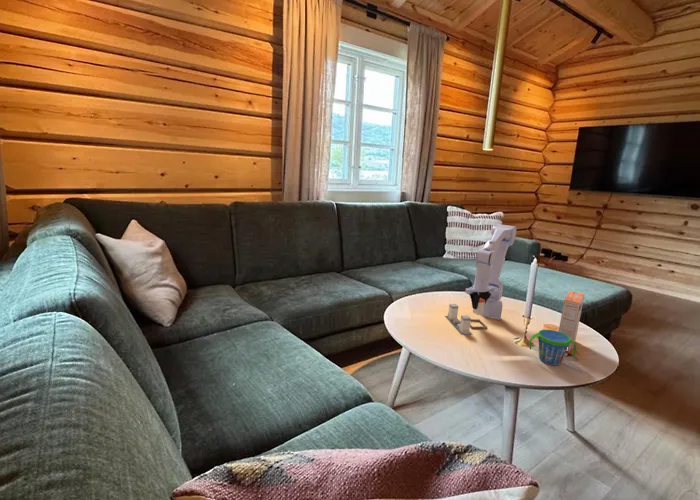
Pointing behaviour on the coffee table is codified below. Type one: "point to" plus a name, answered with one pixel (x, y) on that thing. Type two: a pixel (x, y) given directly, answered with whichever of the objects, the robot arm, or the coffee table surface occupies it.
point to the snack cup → (552, 346)
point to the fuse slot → (465, 323)
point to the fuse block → (458, 326)
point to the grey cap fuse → (453, 311)
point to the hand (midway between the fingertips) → (477, 308)
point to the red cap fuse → (479, 307)
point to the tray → (479, 322)
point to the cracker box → (571, 316)
